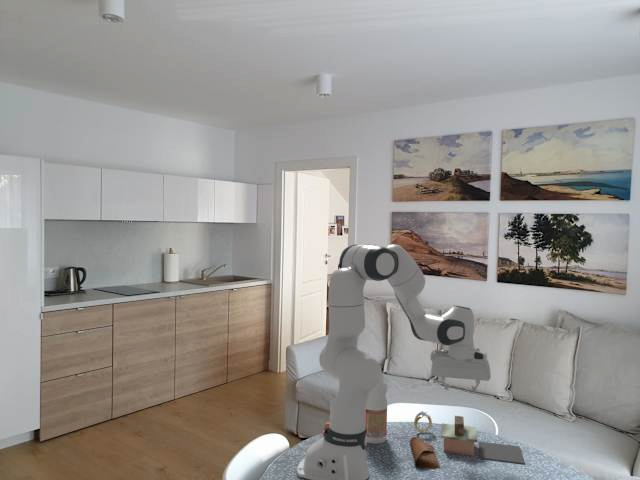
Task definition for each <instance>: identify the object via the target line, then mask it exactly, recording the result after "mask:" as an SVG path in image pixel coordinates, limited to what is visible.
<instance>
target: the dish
mask: <svg viewBox="0 0 640 480" xmlns="http://www.w3.org/2000/svg"><path fill="white" fill-rule="evenodd" d="M443 452H444V453H452V454H459V455H460V454H461V455H467V456H468V455H469V456H475V442H471V441H463V440H454V439H446V438H443Z"/></svg>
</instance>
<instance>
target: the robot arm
mask: <svg viewBox="0 0 640 480" xmlns="http://www.w3.org/2000/svg"><path fill="white" fill-rule="evenodd" d="M338 261H339V262H338V265H337V269H336V270H334V271H333V272H332V273H331V275H330V278H329V282H328V283H329V284H328V296H327V297H328V303H327V304H328V335H327V338H326V344H325V346H324V347H323V349H322V350H321V351H320V352H319V353H320V354H319V356H318V357H319V358H318V359H319V361H318V362H319V365H320V367H321V369H323V371H324V372H325V373H326V374H327V375H328V376H329V377H331V378H333V379H334V380H337V381H338V383H339V385H338V391H337V393H336V394H337V395H336V396H335V397H333V398H332V399H331V401H330V405H329V407H330V408H329V409H330V412H329V413H330V414H329V421H327V422H326V423H325V425H324V428H323V431H322V436H323V437H322V438H320V439H318V440H317V441H315V442H313V443H312V444H311V445H310V446H309V448H308V449H307V450H306V451H307V452H306V453H305V456H304V458H303V459H301V460H300V462H299V463H298V465H297V468H296V474H297V476H298V477H299V478H302V479H303V478H304V479H306V480H367V479H369V477H370V469H369V466H368V458H367V450H366V449H367V444H368V443H367V429H366V427H365V422H366V405H367V400H368V397H369V394H370V392H371V390H372V389H373V388H374V387H375V386H376V385H377V384H378V383H379V381H380V379H381V374H382V375H383V371H382V368H381V366H380V364H379V362H380V361H378V360H377V359H376V358H374V356H372V355H370V354H369V353H368V352H365V351H362V350H359V349H358V340H359V337H360V335H361V334H362V333H363V332H364V330H365V328H366V321H365V320H366V319H365V317H366V316H365V297H364V287H365V284H366V282H367V281H376V282H381V281H385V280H387V282H388V283H389V285H390V286H391V288H392V290H393V291H394V295H395V297H396V299H397V301H398V303H399V305H400V307H401V309H402V310H403V312H404V313H405V315H406V317H407V319H408V322H409V324H410V328H411V332H412V335H413V336H414V337H415V338H416V339H418V340H419V341H425V342H430V343H433V344H438V345H441V346H447V350H446V349H445V350H444V349H443V350H442V349H441V350H440V349H435V350H433V351H431V353H430V361H431V362H432V363H431V368H430V369H431V371H430V372H431V375H432V376H433V377H439V378H440V379H441V380H440V381H441V382H442V384H443V385H444V386H443V387H444V388H443V389H444V390H446V391H447V390H448V391H449V384H450V383H447V382H446V378H451V379H461V380H473V381H475V384H474V385H471V393H477V388H478V387H479V385H480V383H481V381H485V382H489V380H491V367H490V363H489V360H488V353H487V351H486V350H484V349H481V348H479V347H476V346H475V342H474V334H475V317H474V315H475V314H474V312H473V310H472V308H470V307H467V306H466V307H465V306H460V305H455V304H454V305H452V306H450V307H449V310H448V311H447V312H445V313H444V314H442V315H437V314H434V313H430V312H427V311H426V310H425V309H423V307H422V305H421V303H420V301H419V299H418V296H419V295H420V294H421V293H422V292H423V290H424V288H425V285H426V278H425V275H424V273H423V271H422V270H421V268H420V266H419V265H418V264H417V262H416V260H415V259H414V258H413V257H412V256H411V254H409V253H408V251H406V249H405V248H403V246H401V245H400V244H396V243H395V244H394V243H393V244H389V245H386V246H385V247H384V246H383V245H372V244H367V243H364V244H353V245H348V246H347V247H345V248H344V249H343V251H342V252H341V254H340V256H339V260H338Z"/></svg>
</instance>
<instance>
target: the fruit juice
mask: <svg viewBox="0 0 640 480" xmlns="http://www.w3.org/2000/svg"><path fill="white" fill-rule="evenodd" d="M378 362H379V364H380V366H381V369H382V368H383V363H382V362H381V361H378ZM387 391H388V383H387V382H386V380H385V379H384V377H383V373H382V374H381V379H380V381H379V383H378V384H377V385H376V386H375V387H374V388H373V389H372V390H371V392H370V394H369V397H368V400H367V405H366V422H365V427H366V429H367V444H372V445H377V444H378V445H380V444H383V443H385V442H386V440H387V435H388V434H387V432H388V431H387V427H388V425H387V424H388V399H387V396H386V395H387Z"/></svg>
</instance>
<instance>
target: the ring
mask: <svg viewBox="0 0 640 480" xmlns="http://www.w3.org/2000/svg"><path fill="white" fill-rule="evenodd" d="M423 417H426V418H427V420H428V426H426V428H425V429H419V428H418V422H419V420H420V419H422V418H423ZM432 420H433V419H432V417H431V416H430V415H429V414H428V413H427V411H425V412H424V411H419V412H418V413H417V414H416V416H415V418H414V421H413V426H414V429H415V430H416V431H418V433H422V434H424V433H427V432H428V431H429V430H430V429H431V427H432V425H433V424H432V423H433V421H432ZM423 432H424V433H423Z"/></svg>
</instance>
